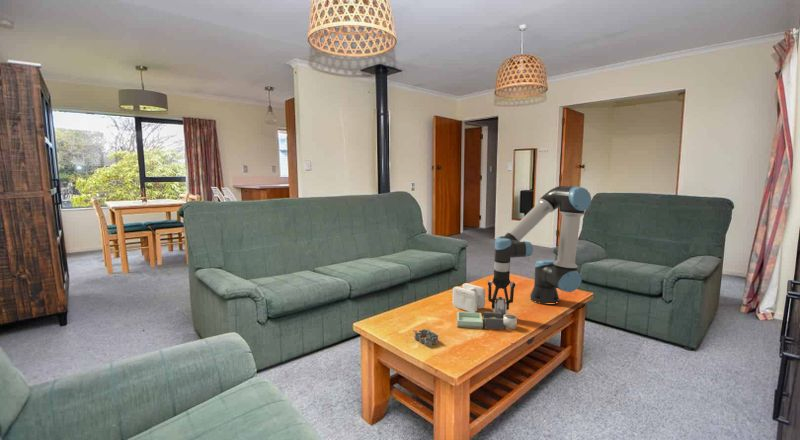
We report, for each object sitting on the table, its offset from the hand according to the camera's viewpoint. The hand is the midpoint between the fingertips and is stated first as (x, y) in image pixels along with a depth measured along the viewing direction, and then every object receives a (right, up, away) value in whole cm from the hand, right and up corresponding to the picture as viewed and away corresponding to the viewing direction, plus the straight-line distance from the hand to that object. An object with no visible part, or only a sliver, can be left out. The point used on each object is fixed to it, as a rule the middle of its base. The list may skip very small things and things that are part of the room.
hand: (499, 315), depth 183 cm
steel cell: (0, -1, 0) cm, 1 cm away
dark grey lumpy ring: (-39, -4, -26) cm, 47 cm away
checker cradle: (-6, -2, -10) cm, 12 cm away
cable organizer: (-14, +1, +11) cm, 18 cm away
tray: (-17, -2, -8) cm, 18 cm away
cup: (+1, -2, -12) cm, 12 cm away
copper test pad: (-6, 0, -10) cm, 12 cm away
